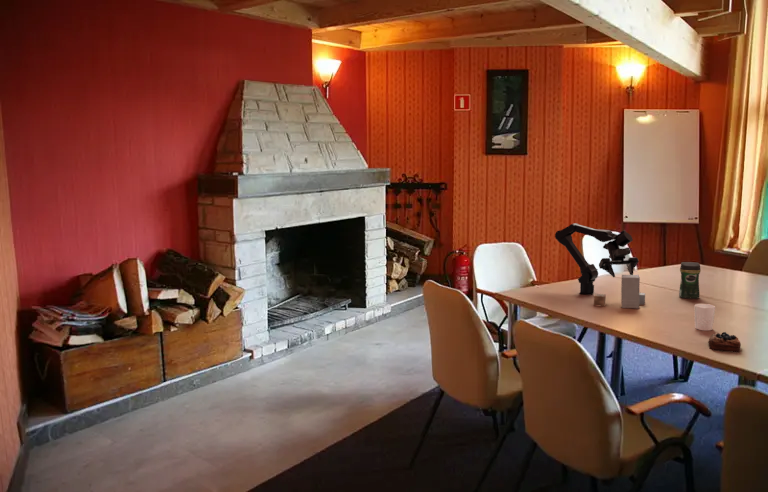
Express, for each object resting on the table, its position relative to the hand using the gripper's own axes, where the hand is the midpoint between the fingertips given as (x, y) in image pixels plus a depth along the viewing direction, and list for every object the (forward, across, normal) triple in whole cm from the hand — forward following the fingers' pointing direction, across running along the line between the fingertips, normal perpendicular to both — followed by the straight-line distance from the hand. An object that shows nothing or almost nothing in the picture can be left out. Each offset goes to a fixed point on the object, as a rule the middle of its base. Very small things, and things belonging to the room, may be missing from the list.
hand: (623, 276), depth 313 cm
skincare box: (+16, 0, +4) cm, 16 cm away
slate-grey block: (+10, +8, +9) cm, 16 cm away
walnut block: (+11, -12, +9) cm, 19 cm away
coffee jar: (+5, +39, +15) cm, 42 cm away
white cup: (+44, +14, -24) cm, 52 cm away
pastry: (+62, +7, -42) cm, 76 cm away
